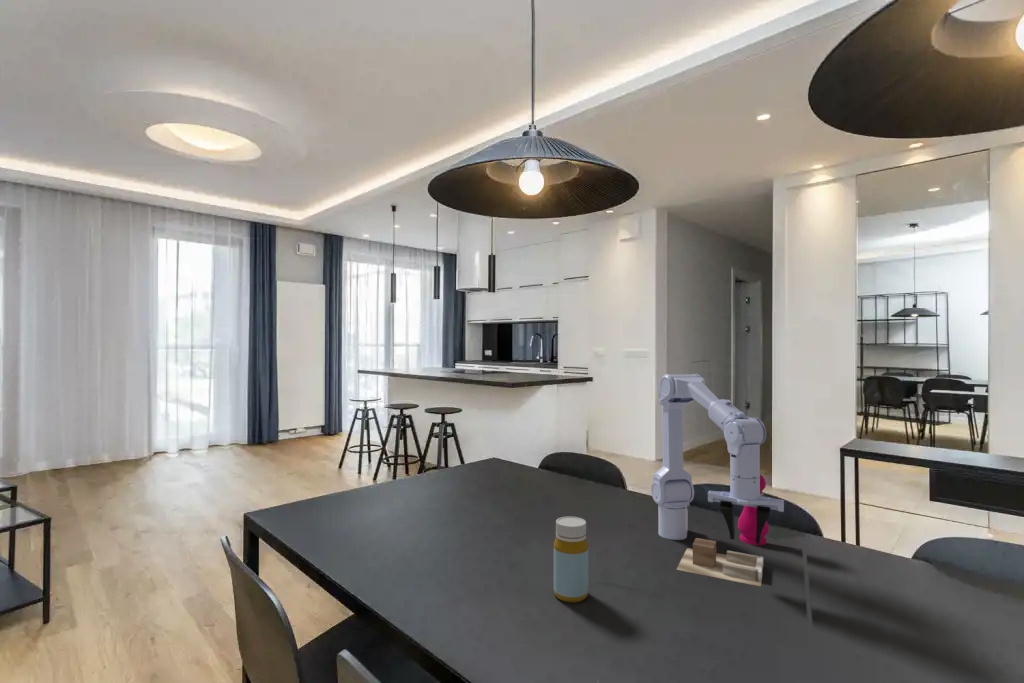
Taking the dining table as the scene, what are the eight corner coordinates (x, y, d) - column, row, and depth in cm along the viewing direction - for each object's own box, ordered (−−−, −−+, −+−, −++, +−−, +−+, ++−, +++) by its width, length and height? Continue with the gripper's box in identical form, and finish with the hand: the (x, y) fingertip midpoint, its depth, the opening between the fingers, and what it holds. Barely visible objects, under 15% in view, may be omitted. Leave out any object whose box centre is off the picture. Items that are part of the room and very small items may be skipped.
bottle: (584, 586, 108) (584, 515, 108) (591, 603, 101) (591, 527, 101) (551, 587, 107) (552, 515, 108) (555, 604, 100) (556, 527, 101)
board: (687, 551, 126) (687, 539, 126) (763, 566, 118) (763, 553, 118) (676, 573, 114) (676, 560, 114) (760, 591, 106) (760, 576, 106)
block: (695, 556, 121) (695, 537, 121) (716, 560, 119) (716, 541, 119) (692, 563, 117) (692, 544, 117) (713, 568, 115) (713, 547, 115)
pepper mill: (772, 550, 127) (772, 470, 127) (741, 548, 129) (741, 468, 129) (764, 540, 134) (763, 463, 134) (734, 537, 136) (734, 462, 136)
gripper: (705, 475, 108) (706, 539, 108) (783, 484, 101) (783, 553, 101) (710, 468, 114) (710, 529, 114) (783, 476, 107) (784, 541, 107)
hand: (745, 540), depth 108 cm, fingers open, 4 cm apart
